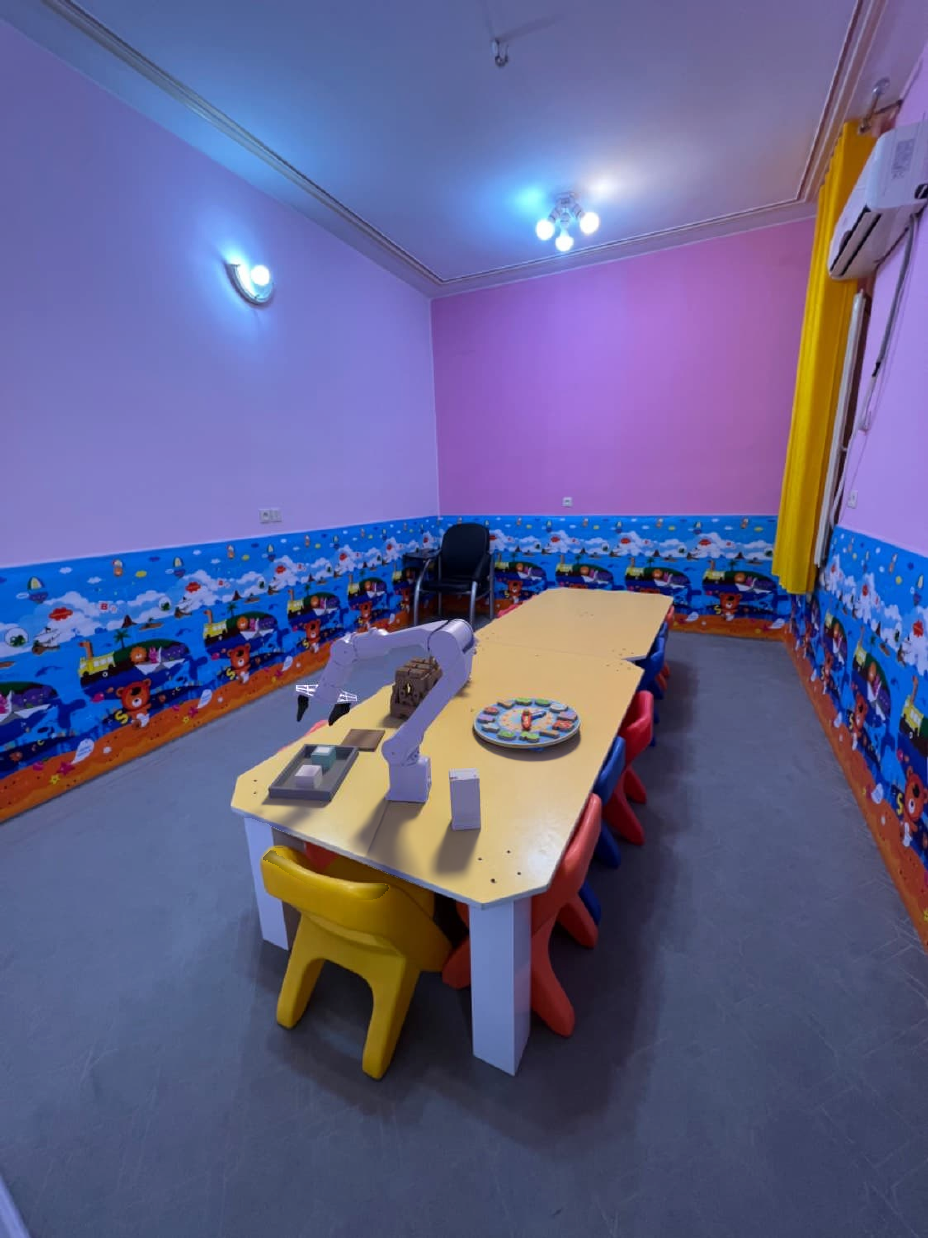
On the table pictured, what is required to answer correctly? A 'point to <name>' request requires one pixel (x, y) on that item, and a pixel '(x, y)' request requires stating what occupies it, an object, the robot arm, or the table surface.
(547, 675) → the table surface
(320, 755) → the labelled block
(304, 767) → the plain block
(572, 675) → the table surface
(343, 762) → the bin
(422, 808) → the table surface
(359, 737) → the pad
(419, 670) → the brown wooden block structure
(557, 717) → the shape sorting clock
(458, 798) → the skincare box
